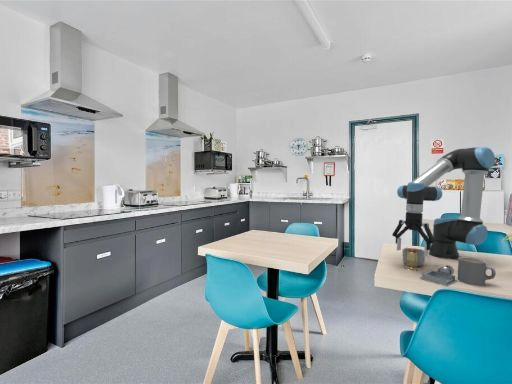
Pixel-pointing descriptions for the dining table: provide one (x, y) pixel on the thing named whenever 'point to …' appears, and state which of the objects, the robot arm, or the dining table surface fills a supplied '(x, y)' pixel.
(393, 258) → the dining table surface
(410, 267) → the cylinder
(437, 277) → the flange seat
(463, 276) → the coffee mug
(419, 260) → the teacup
